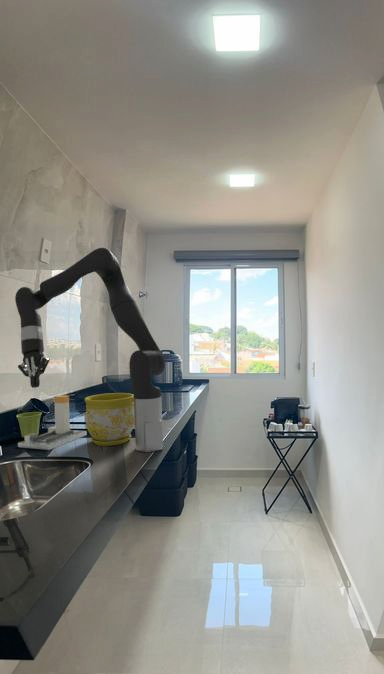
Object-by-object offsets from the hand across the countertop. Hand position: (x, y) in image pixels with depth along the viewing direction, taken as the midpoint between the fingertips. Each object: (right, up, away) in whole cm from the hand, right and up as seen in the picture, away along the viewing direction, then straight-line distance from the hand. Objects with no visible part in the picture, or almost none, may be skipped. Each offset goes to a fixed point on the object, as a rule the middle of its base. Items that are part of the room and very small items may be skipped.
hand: (35, 387), depth 139 cm
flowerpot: (+26, -21, +5) cm, 34 cm away
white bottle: (+5, -19, +13) cm, 24 cm away
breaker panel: (+3, -21, +9) cm, 23 cm away
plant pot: (-9, -22, +18) cm, 30 cm away
